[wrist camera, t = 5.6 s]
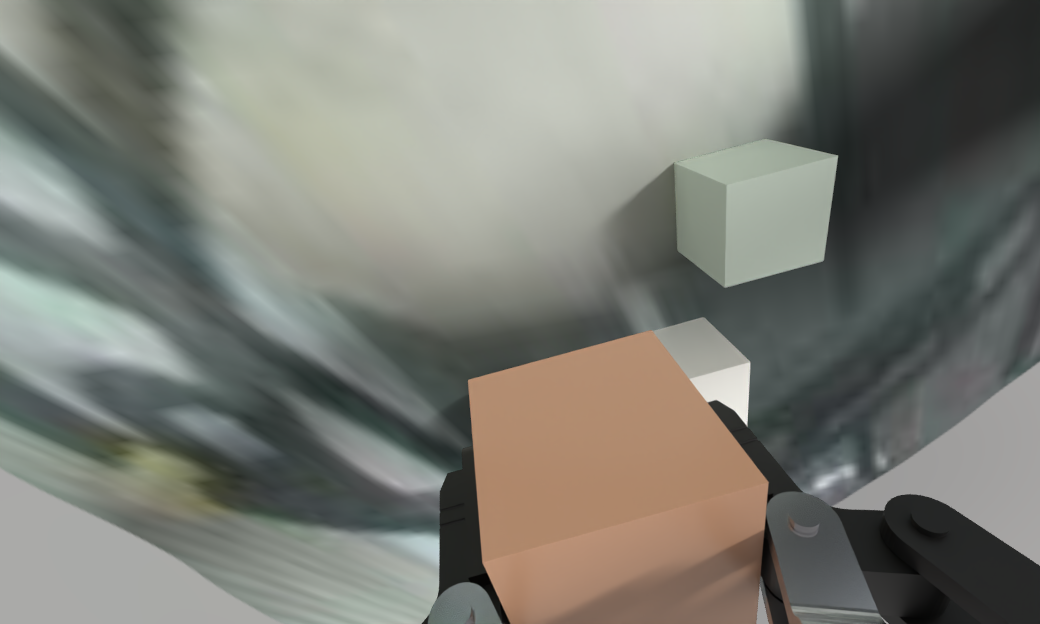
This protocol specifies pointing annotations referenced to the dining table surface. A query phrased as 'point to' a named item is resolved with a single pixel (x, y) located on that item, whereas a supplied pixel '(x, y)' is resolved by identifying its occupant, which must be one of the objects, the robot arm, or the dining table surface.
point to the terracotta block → (614, 492)
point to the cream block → (709, 363)
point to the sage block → (754, 209)
